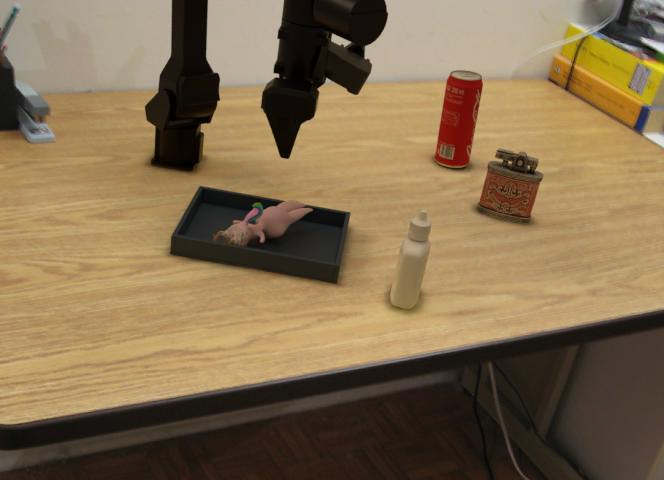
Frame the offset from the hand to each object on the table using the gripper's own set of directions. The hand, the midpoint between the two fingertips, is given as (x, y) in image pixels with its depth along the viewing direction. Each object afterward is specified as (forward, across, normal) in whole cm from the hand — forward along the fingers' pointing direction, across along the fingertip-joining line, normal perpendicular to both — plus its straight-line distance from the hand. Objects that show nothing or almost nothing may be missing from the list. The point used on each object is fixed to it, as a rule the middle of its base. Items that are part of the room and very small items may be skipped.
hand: (289, 144), depth 110 cm
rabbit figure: (+13, -3, +2) cm, 13 cm away
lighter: (+13, +18, -32) cm, 39 cm away
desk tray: (+13, -3, +2) cm, 13 cm away
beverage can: (+13, +35, -24) cm, 44 cm away
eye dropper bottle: (+13, -11, -17) cm, 24 cm away
